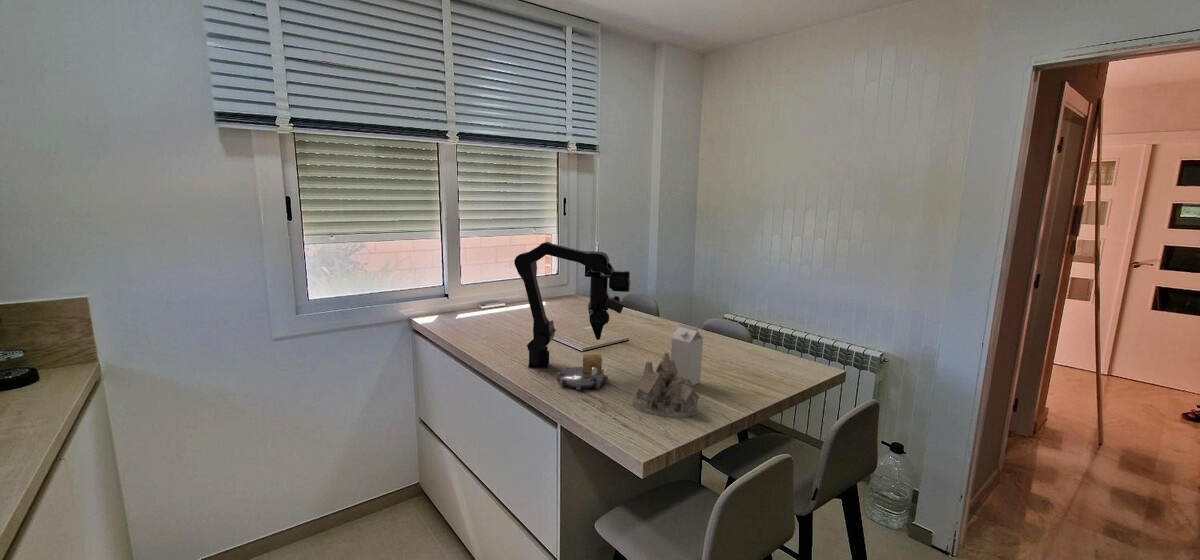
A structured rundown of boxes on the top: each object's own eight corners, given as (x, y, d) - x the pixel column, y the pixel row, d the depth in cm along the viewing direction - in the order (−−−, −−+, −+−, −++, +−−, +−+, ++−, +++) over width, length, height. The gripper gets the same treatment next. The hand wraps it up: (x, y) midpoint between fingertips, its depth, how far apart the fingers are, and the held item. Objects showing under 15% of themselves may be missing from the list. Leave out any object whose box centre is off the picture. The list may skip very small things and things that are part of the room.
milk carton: (682, 377, 158) (685, 321, 155) (700, 383, 153) (704, 326, 150) (668, 382, 153) (672, 325, 150) (687, 388, 148) (691, 329, 145)
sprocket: (576, 394, 140) (577, 375, 139) (546, 377, 153) (546, 360, 152) (618, 382, 150) (619, 364, 149) (586, 367, 163) (587, 351, 162)
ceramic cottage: (625, 399, 138) (631, 351, 135) (673, 394, 145) (680, 348, 142) (652, 426, 125) (659, 373, 121) (704, 419, 131) (711, 368, 128)
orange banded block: (582, 372, 153) (583, 357, 152) (582, 368, 156) (583, 354, 155) (601, 372, 153) (601, 358, 152) (601, 369, 156) (601, 354, 156)
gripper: (625, 296, 149) (623, 344, 152) (620, 285, 168) (618, 328, 170) (590, 295, 149) (589, 343, 151) (588, 285, 167) (587, 328, 170)
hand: (597, 335), depth 161 cm, fingers open, 9 cm apart
